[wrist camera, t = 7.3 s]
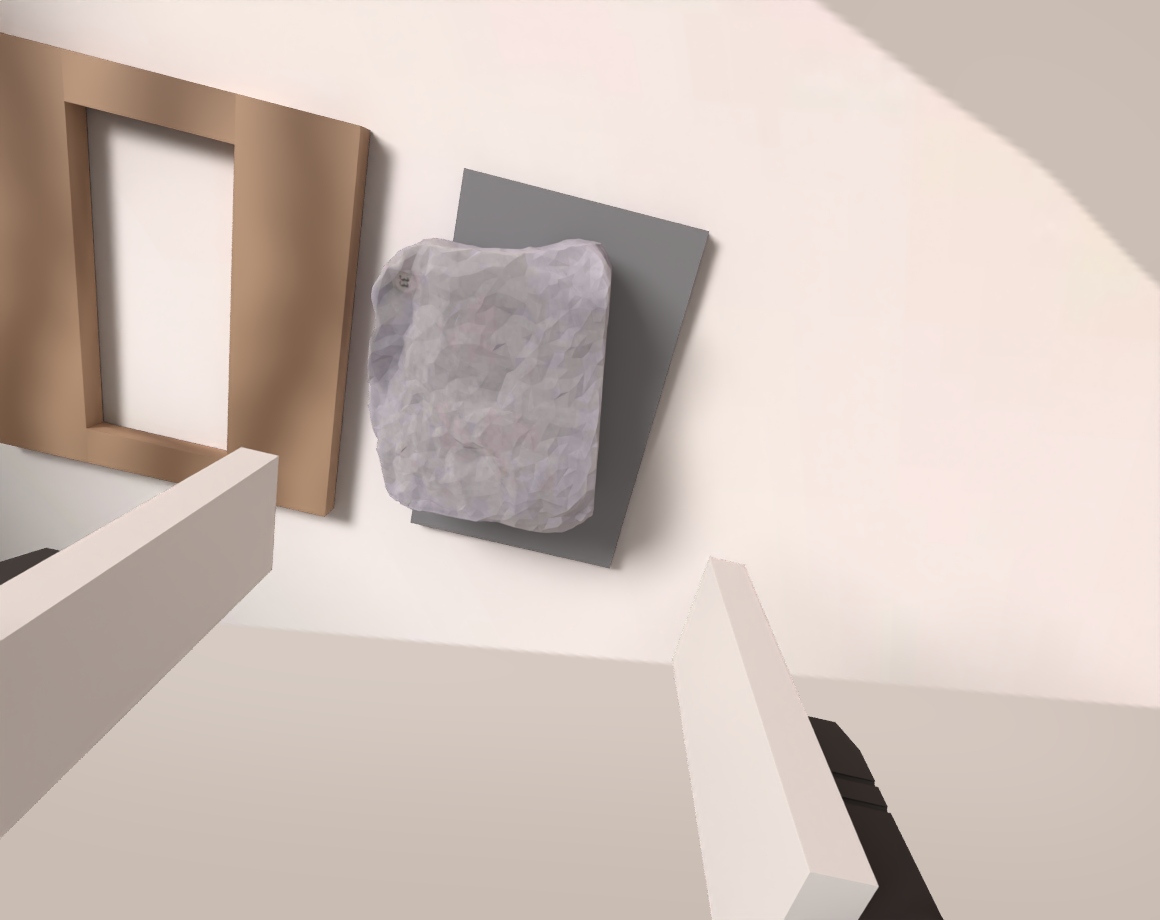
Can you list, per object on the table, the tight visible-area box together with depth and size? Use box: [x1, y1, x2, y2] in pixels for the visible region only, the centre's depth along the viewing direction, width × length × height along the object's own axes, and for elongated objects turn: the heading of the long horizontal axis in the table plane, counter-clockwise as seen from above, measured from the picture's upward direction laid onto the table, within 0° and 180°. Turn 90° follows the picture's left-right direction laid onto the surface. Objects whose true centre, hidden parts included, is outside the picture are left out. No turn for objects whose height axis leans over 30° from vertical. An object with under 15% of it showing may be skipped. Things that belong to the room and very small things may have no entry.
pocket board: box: [0, 33, 370, 517], centre depth 26 cm, size 16×17×1 cm
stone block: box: [367, 238, 612, 533], centre depth 25 cm, size 12×5×10 cm
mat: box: [411, 168, 709, 568], centre depth 27 cm, size 10×16×1 cm, turn 166°
